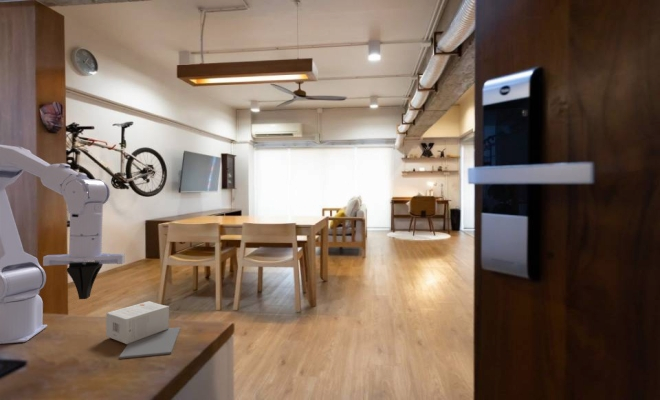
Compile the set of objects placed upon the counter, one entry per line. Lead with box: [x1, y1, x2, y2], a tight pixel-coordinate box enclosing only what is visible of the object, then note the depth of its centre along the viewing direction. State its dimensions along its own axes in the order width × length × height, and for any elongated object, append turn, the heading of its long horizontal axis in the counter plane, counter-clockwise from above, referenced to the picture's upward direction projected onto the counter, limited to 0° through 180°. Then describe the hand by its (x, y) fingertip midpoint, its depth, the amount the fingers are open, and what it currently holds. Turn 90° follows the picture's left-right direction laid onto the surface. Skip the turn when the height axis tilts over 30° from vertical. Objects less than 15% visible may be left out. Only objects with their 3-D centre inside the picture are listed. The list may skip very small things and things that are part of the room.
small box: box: [105, 300, 170, 345], centre depth 81 cm, size 8×6×10 cm
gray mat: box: [118, 326, 181, 360], centre depth 77 cm, size 14×10×1 cm
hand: (84, 297), depth 75 cm, fingers closed
